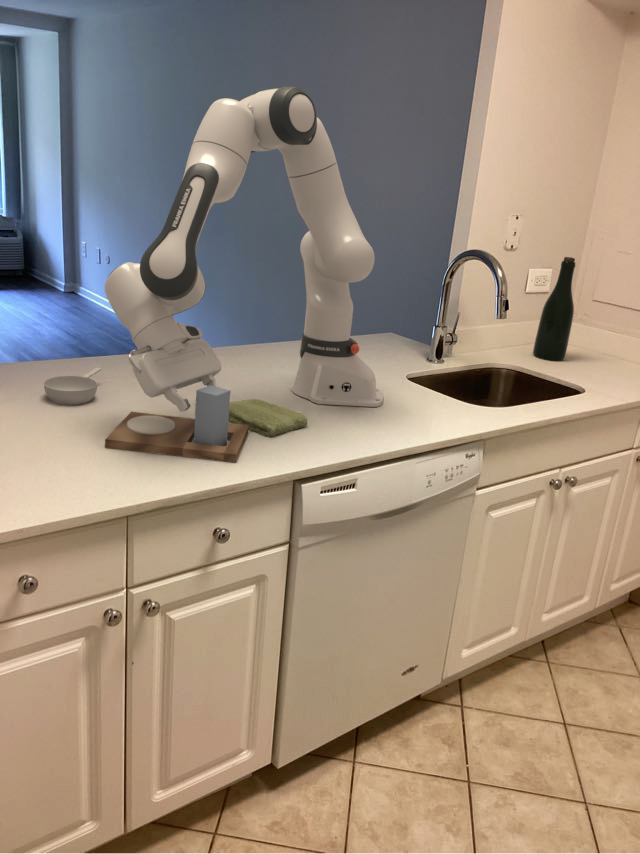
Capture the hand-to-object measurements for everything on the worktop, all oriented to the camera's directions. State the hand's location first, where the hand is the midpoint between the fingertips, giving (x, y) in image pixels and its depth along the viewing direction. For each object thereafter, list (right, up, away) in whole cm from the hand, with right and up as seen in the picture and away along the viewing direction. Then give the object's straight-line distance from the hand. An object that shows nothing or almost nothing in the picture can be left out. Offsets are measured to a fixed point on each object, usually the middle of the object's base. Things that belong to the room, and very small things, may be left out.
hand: (201, 403), depth 137 cm
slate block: (+1, -8, +2) cm, 8 cm away
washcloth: (+9, -4, +18) cm, 20 cm away
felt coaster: (-10, -4, +3) cm, 12 cm away
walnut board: (-4, -7, +3) cm, 9 cm away
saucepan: (-30, +3, +22) cm, 38 cm away
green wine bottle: (+99, +19, +106) cm, 146 cm away
